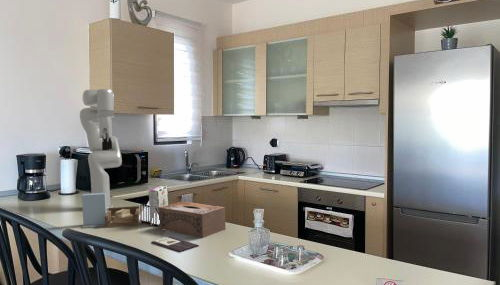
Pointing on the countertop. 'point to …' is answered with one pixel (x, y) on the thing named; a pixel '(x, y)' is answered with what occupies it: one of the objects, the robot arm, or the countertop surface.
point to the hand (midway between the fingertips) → (107, 149)
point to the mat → (93, 226)
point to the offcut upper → (122, 213)
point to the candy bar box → (157, 199)
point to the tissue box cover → (192, 218)
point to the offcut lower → (123, 219)
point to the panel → (94, 208)
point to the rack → (108, 218)
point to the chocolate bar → (174, 244)
